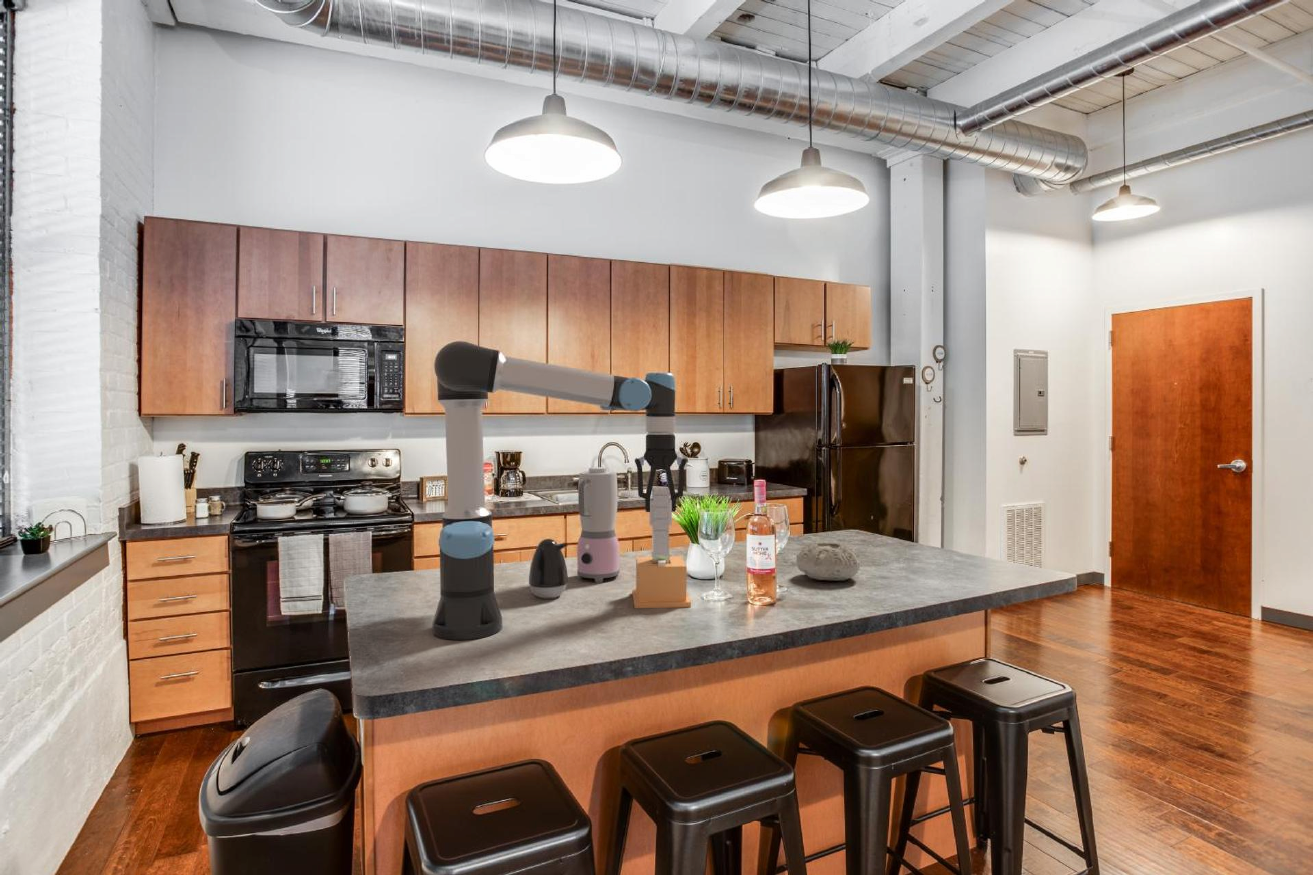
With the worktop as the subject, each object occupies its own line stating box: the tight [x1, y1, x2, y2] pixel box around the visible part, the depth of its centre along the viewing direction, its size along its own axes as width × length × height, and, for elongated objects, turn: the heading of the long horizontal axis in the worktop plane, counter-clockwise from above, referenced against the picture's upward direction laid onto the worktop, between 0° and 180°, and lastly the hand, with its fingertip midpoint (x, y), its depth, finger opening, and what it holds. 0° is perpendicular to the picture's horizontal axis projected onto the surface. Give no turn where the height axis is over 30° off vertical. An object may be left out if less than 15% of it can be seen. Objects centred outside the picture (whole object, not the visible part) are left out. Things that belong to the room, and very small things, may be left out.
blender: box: [576, 466, 620, 583], centre depth 208 cm, size 16×12×32 cm
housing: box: [631, 555, 692, 609], centre depth 185 cm, size 14×14×11 cm
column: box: [650, 486, 671, 564], centre depth 185 cm, size 6×4×22 cm
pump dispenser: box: [528, 538, 569, 600], centre depth 189 cm, size 10×10×15 cm
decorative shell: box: [796, 541, 861, 582], centre depth 208 cm, size 18×18×10 cm
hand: (660, 524), depth 185 cm, fingers closed on column, 4 cm apart
